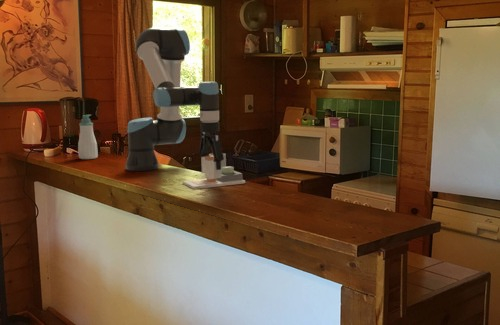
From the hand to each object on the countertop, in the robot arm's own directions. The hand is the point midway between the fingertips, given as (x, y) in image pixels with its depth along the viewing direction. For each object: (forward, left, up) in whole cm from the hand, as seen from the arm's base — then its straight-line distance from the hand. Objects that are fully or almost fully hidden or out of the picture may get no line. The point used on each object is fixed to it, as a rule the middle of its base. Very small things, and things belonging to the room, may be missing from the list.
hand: (211, 175), depth 224 cm
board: (0, +1, -3) cm, 4 cm away
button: (-1, +8, -1) cm, 8 cm away
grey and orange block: (0, 0, -2) cm, 2 cm away
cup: (-19, +10, -4) cm, 22 cm away
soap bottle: (-99, -30, -4) cm, 104 cm away
